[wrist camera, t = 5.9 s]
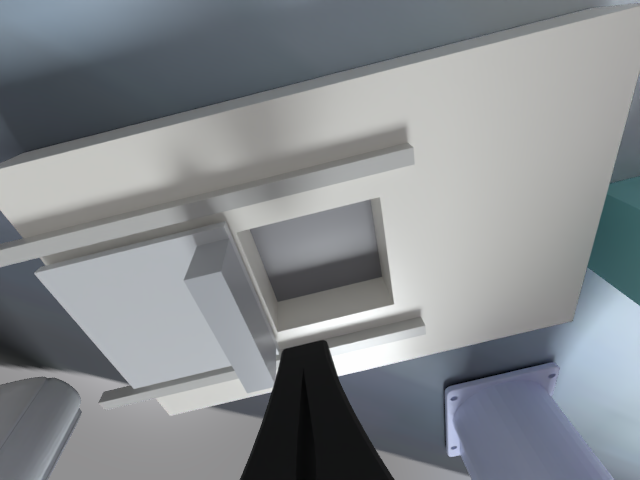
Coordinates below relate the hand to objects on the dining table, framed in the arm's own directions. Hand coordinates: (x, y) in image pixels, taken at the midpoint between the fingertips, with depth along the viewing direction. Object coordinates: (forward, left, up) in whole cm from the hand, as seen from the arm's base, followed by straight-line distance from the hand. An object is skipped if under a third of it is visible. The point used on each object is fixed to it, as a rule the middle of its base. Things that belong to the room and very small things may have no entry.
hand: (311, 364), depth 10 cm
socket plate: (0, -2, -7) cm, 7 cm away
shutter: (0, +6, -4) cm, 7 cm away
